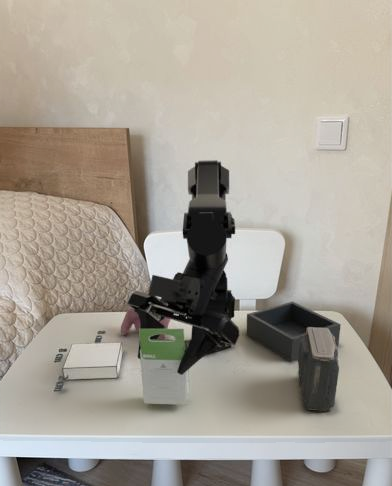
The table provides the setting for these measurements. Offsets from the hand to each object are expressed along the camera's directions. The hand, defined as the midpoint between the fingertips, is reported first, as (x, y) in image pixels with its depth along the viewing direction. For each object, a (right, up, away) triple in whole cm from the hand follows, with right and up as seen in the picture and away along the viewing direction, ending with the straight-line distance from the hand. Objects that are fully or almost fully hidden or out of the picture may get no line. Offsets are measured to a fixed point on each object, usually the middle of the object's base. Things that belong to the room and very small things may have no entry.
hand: (159, 366), depth 80 cm
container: (-14, -1, +16) cm, 22 cm away
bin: (+25, +4, +24) cm, 35 cm away
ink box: (+1, -6, +4) cm, 7 cm away
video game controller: (-5, +5, +29) cm, 29 cm away
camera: (+25, -5, +6) cm, 27 cm away
